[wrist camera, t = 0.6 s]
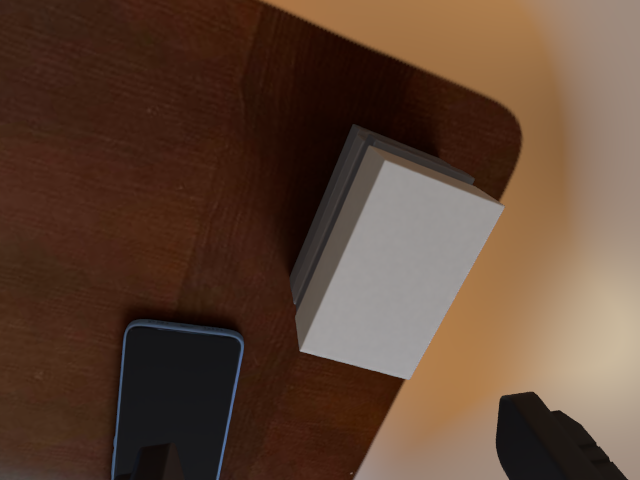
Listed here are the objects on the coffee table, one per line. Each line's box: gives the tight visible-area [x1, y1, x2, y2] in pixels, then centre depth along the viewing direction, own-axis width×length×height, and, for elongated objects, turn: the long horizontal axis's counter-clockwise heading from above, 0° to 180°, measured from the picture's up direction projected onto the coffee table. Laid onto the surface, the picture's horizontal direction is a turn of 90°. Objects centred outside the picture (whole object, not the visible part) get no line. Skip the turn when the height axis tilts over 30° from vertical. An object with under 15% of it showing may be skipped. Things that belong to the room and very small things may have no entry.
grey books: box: [290, 124, 475, 311], centre depth 26 cm, size 10×6×5 cm, turn 158°
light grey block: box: [295, 145, 505, 380], centre depth 22 cm, size 10×6×3 cm, turn 158°
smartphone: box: [111, 319, 244, 480], centre depth 31 cm, size 7×1×15 cm
